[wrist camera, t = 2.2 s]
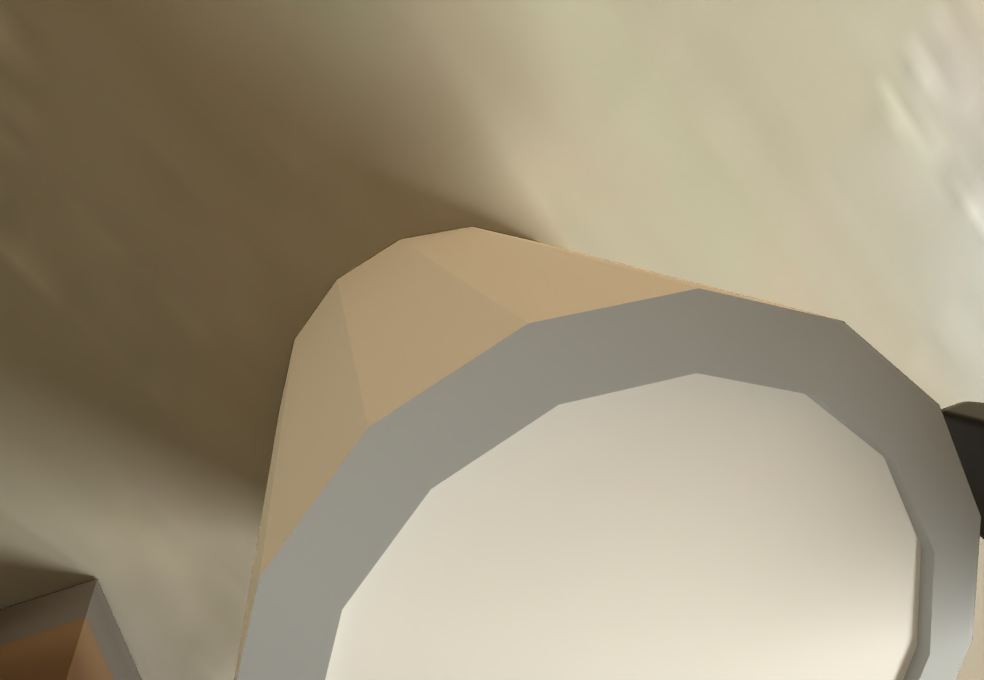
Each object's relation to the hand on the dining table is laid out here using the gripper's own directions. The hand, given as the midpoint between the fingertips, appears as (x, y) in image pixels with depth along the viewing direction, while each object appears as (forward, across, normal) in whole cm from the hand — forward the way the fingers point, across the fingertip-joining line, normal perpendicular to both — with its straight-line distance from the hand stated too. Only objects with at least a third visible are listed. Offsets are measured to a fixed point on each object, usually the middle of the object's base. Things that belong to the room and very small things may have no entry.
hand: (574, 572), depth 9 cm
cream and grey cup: (+5, 0, 0) cm, 5 cm away
